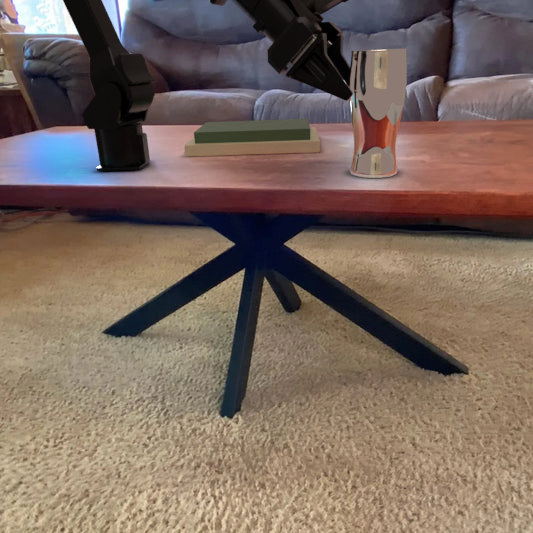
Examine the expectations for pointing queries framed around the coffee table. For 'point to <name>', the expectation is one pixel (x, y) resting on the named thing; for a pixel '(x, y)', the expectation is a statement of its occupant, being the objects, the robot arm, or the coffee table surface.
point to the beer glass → (376, 109)
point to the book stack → (253, 138)
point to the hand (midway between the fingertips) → (355, 94)
